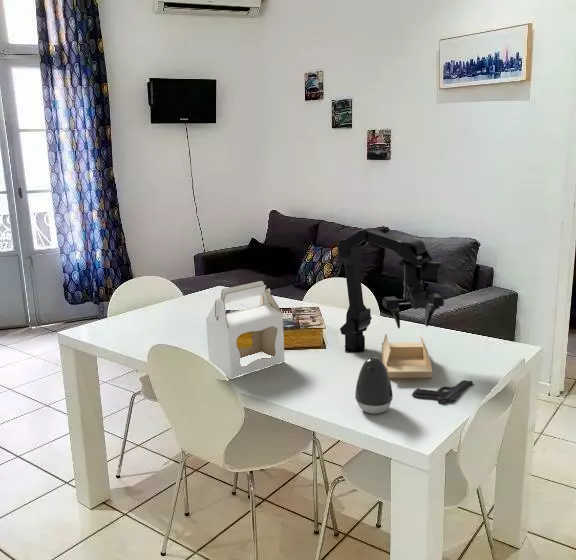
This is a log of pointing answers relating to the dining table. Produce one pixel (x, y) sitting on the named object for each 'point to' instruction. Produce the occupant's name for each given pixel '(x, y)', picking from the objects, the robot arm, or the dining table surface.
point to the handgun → (443, 392)
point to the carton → (407, 361)
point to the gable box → (245, 330)
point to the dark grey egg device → (373, 387)
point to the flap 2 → (425, 348)
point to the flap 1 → (386, 348)
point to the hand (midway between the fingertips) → (412, 327)
